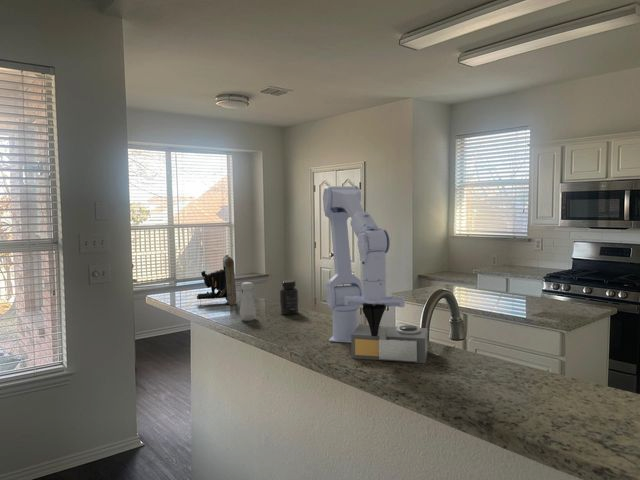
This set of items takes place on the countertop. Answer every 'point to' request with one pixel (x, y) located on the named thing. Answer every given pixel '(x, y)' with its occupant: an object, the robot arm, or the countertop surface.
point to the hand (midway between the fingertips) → (374, 335)
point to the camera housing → (369, 345)
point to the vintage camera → (221, 282)
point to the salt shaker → (247, 302)
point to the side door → (396, 348)
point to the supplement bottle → (289, 298)
